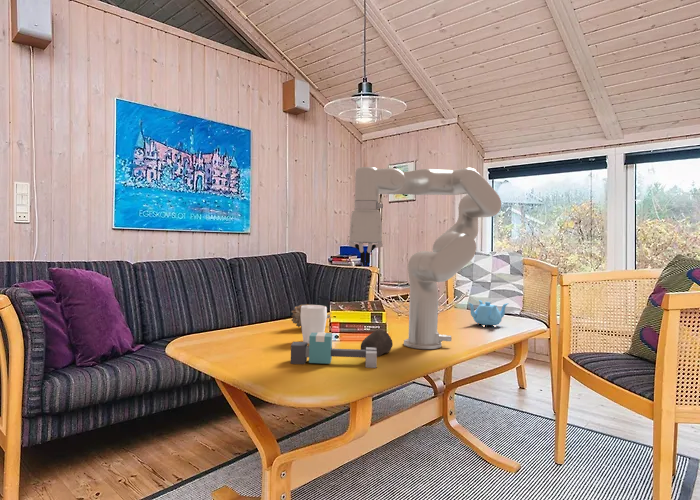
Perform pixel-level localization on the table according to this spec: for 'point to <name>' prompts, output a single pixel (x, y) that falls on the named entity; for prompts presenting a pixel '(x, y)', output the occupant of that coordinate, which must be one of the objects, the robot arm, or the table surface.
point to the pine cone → (297, 313)
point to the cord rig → (333, 354)
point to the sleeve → (320, 347)
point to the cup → (312, 320)
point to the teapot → (487, 313)
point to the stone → (378, 342)
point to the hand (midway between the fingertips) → (364, 265)
